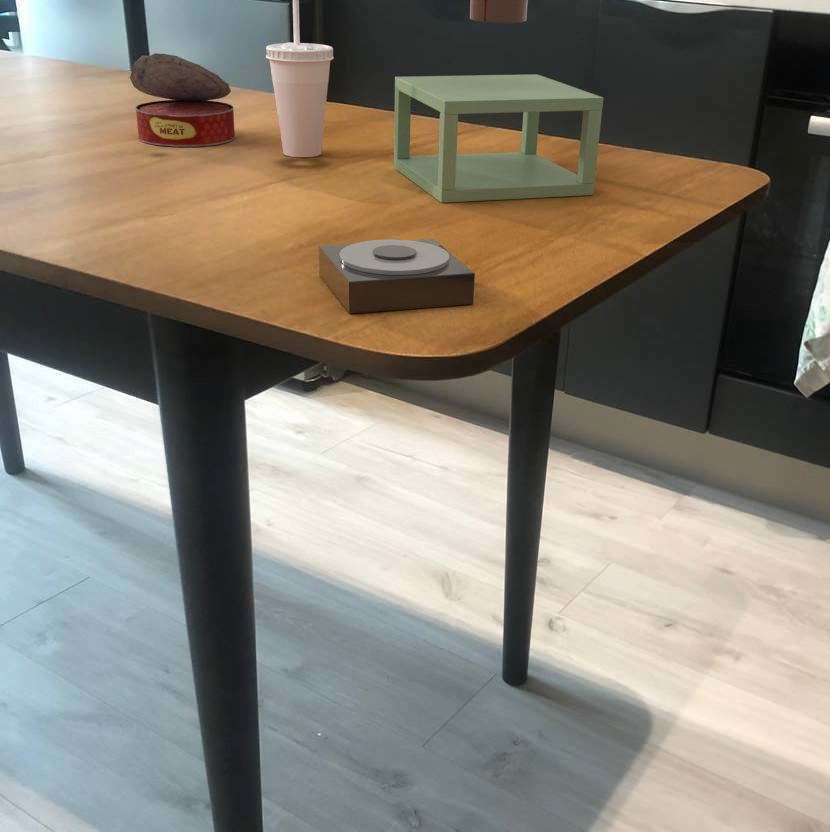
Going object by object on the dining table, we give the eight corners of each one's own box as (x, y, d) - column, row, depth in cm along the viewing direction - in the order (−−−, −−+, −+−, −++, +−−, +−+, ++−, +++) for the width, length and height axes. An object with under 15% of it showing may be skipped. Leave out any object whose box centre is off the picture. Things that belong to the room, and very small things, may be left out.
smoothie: (315, 144, 110) (312, -8, 104) (346, 156, 106) (346, -3, 99) (258, 150, 107) (251, -7, 100) (288, 162, 103) (283, -1, 96)
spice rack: (441, 202, 90) (444, 101, 86) (393, 167, 102) (394, 76, 98) (593, 195, 94) (603, 97, 90) (530, 162, 106) (537, 74, 102)
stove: (349, 314, 65) (349, 273, 64) (319, 275, 72) (318, 238, 71) (473, 304, 68) (475, 264, 66) (433, 267, 74) (434, 231, 73)
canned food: (140, 184, 113) (97, 90, 111) (216, 161, 119) (177, 71, 117) (189, 147, 104) (144, 44, 102) (269, 124, 110) (228, 26, 108)
